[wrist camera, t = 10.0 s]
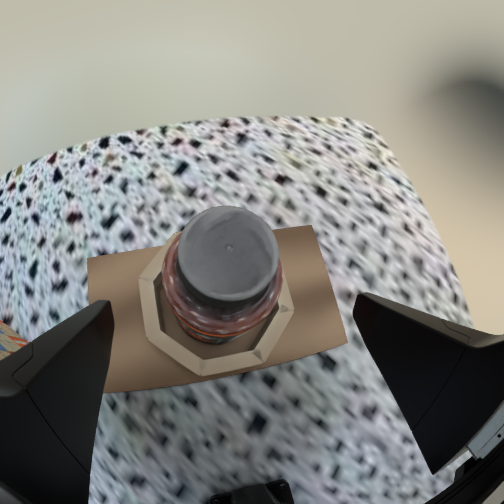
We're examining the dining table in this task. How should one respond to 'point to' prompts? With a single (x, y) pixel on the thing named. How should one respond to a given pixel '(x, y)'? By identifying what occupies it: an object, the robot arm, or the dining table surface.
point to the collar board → (198, 353)
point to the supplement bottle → (222, 274)
